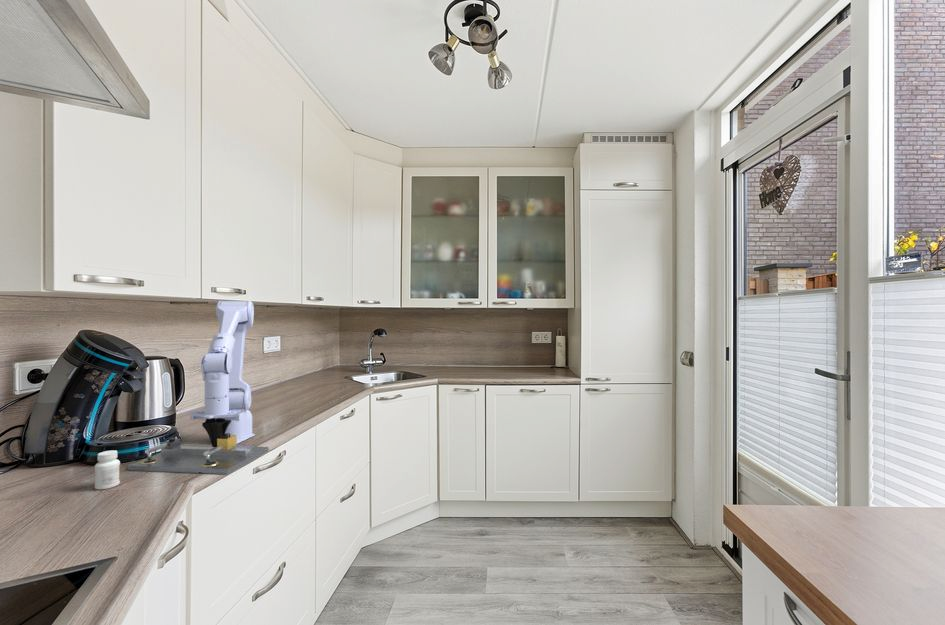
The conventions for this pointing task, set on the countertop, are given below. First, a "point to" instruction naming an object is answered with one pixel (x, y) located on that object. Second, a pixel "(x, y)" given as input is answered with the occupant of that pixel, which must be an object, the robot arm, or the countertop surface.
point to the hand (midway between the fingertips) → (217, 446)
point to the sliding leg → (222, 445)
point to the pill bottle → (107, 470)
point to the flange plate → (197, 461)
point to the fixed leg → (164, 446)
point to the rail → (203, 449)
